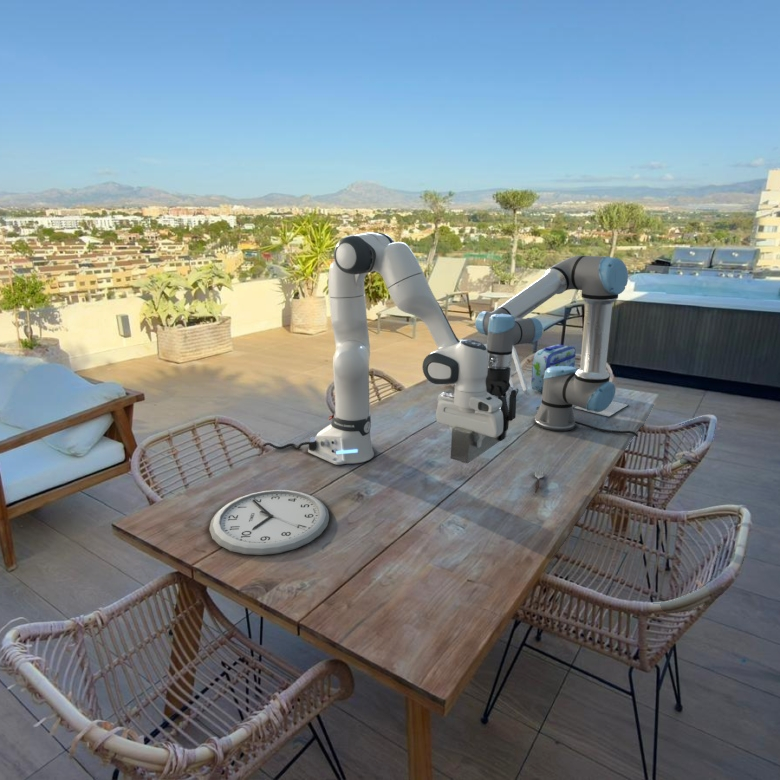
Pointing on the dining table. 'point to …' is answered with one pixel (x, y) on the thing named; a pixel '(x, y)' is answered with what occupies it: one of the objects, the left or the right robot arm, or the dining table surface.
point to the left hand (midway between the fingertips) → (466, 443)
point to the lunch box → (550, 362)
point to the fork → (538, 475)
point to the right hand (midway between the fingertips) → (492, 436)
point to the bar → (469, 444)
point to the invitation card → (608, 409)
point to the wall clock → (269, 522)
